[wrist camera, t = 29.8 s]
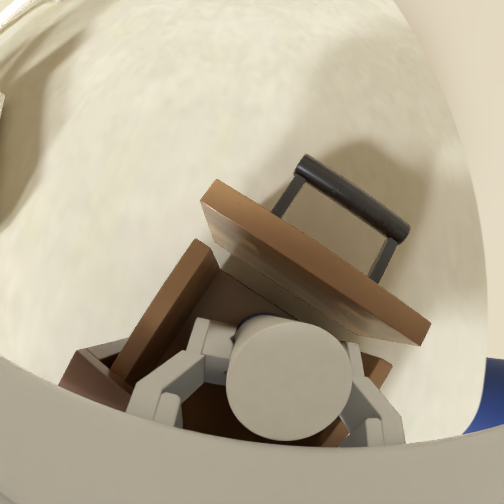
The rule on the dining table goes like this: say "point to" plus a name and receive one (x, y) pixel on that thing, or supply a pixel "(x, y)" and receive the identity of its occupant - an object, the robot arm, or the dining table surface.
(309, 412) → the tube
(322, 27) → the dining table surface
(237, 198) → the drawer
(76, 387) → the cabinet
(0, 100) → the white cradle stand
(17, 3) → the white block on rod
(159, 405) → the robot arm
